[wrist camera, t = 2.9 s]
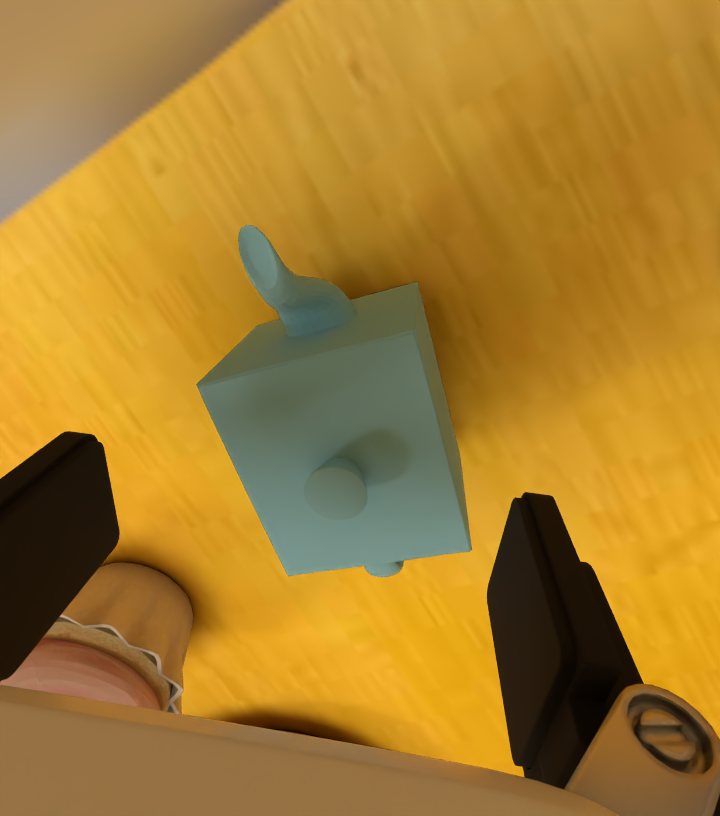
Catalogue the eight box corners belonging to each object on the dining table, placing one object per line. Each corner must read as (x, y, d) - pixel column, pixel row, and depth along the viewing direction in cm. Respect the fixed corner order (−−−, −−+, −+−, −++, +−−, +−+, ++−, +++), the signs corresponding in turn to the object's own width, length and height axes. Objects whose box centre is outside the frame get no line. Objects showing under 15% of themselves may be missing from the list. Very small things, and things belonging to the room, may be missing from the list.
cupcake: (236, 660, 28) (152, 884, 20) (92, 649, 30) (-49, 856, 21) (204, 540, 24) (80, 755, 15) (39, 533, 26) (-166, 729, 17)
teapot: (230, 229, 17) (108, 271, 11) (393, 175, 16) (372, 183, 9) (333, 494, 22) (295, 637, 15) (465, 471, 21) (485, 617, 14)
